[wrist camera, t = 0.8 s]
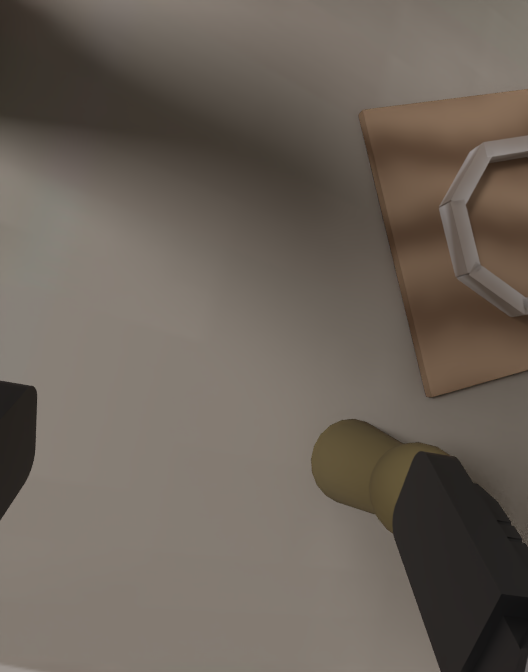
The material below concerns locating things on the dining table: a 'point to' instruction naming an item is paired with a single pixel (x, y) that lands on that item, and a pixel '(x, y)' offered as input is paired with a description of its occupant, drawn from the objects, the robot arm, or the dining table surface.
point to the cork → (363, 466)
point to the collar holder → (457, 230)
